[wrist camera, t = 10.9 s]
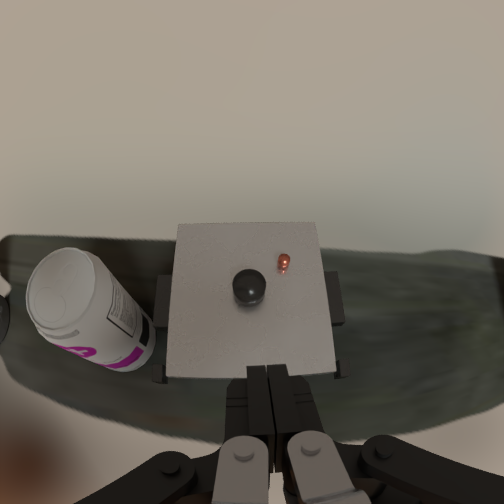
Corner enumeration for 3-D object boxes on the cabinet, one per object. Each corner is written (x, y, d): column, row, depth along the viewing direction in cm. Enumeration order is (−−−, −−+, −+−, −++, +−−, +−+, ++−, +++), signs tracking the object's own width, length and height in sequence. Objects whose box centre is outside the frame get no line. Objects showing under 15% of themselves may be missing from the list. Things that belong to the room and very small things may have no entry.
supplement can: (138, 385, 28) (67, 360, 15) (86, 351, 30) (7, 306, 17) (169, 325, 32) (122, 263, 19) (115, 297, 34) (56, 228, 21)
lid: (169, 377, 21) (160, 373, 19) (180, 230, 28) (175, 213, 26) (332, 372, 21) (342, 367, 19) (312, 228, 28) (318, 211, 26)
